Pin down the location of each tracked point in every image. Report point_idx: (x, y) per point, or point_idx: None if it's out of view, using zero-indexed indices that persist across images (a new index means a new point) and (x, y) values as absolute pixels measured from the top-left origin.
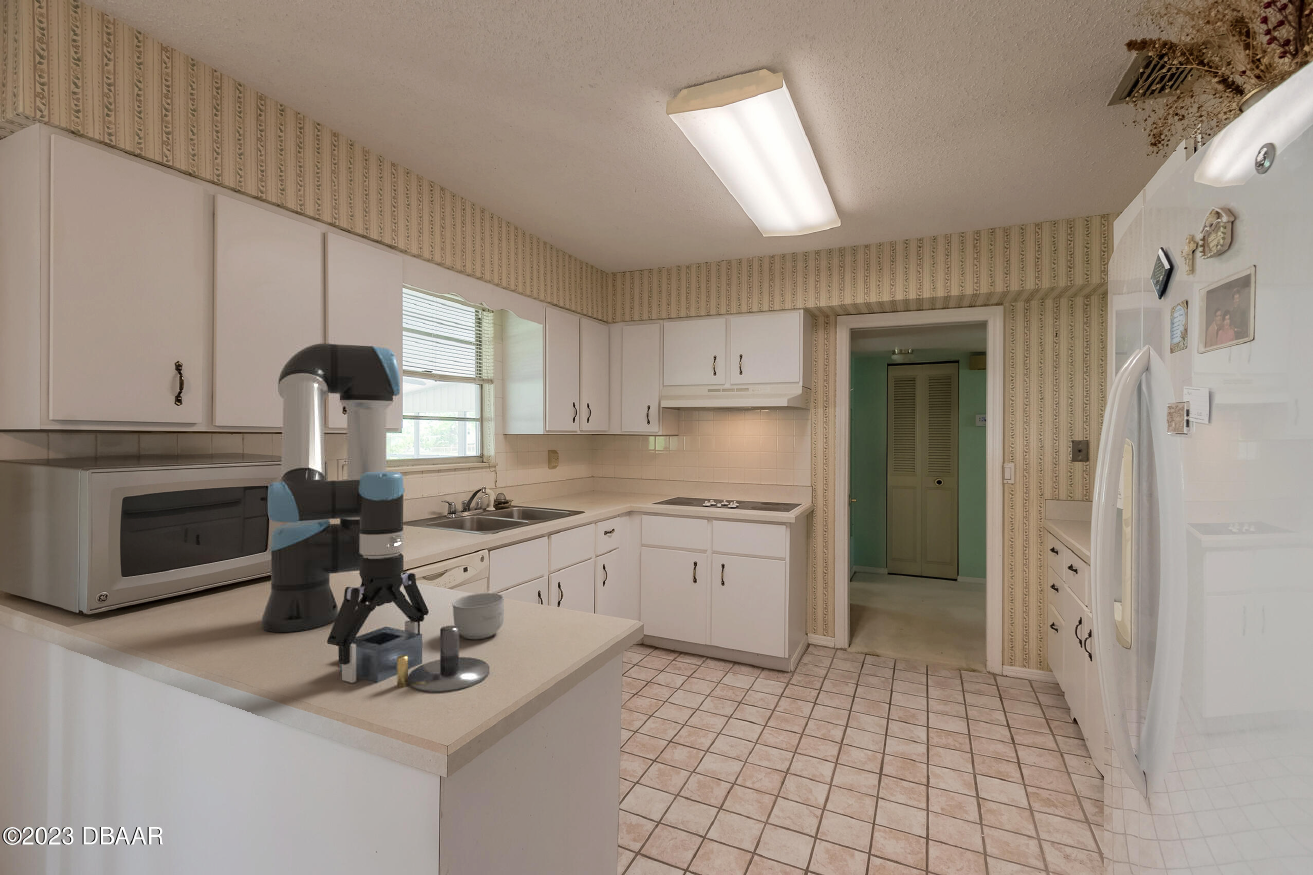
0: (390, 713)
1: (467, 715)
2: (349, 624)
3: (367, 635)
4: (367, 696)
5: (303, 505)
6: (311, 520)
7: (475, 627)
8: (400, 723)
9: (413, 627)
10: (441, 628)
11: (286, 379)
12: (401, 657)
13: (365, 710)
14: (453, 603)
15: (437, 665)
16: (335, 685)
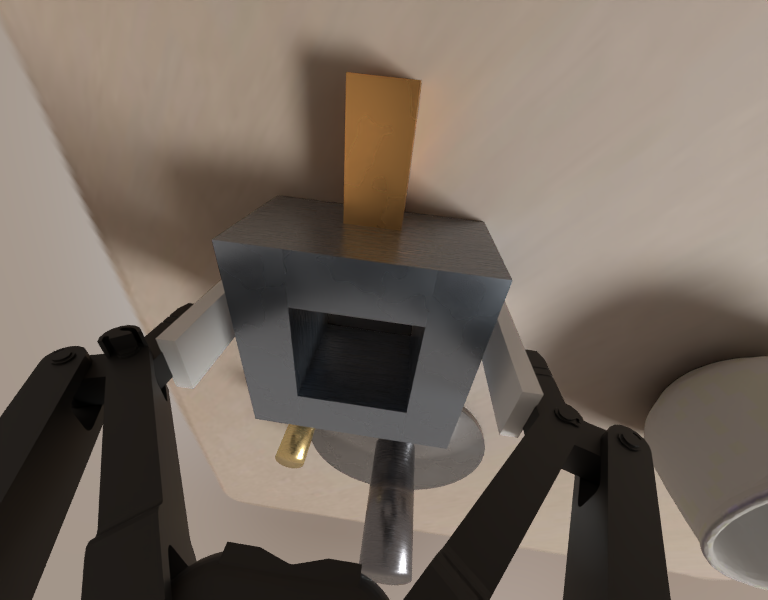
0: (227, 429)
1: (290, 495)
2: (80, 476)
3: (353, 290)
4: (237, 368)
5: None
6: None
7: (653, 461)
8: (219, 450)
9: (497, 411)
10: (374, 566)
11: None
12: (284, 460)
13: (203, 396)
14: None
15: None
16: (217, 264)
